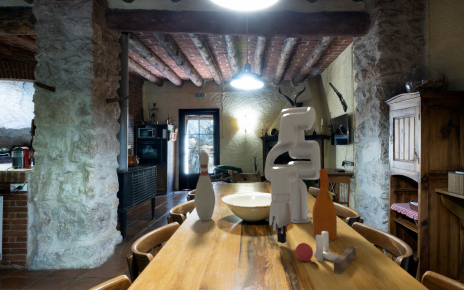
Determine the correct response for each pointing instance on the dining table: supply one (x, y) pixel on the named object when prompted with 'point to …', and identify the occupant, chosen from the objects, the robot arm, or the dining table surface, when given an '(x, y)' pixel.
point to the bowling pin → (204, 191)
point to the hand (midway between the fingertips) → (281, 242)
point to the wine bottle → (324, 210)
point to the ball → (304, 252)
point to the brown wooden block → (344, 259)
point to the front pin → (328, 255)
